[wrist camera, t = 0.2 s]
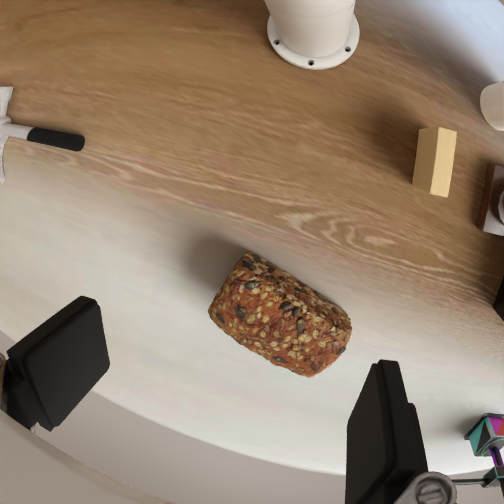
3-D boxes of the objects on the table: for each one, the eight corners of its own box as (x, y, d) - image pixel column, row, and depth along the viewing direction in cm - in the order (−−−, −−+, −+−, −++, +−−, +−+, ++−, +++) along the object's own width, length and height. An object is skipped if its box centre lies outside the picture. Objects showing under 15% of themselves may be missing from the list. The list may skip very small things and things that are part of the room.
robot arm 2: (515, 415, 47) (544, 489, 25) (493, 440, 50) (515, 512, 28) (446, 407, 50) (471, 503, 27) (423, 434, 53) (437, 526, 31)
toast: (418, 128, 37) (438, 126, 29) (434, 133, 36) (457, 131, 29) (411, 184, 39) (429, 193, 32) (427, 188, 39) (447, 197, 32)
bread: (351, 309, 47) (356, 346, 38) (311, 353, 51) (307, 393, 42) (250, 243, 47) (232, 268, 38) (217, 295, 51) (195, 327, 42)
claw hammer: (79, 89, 40) (-10, 86, 42) (61, 216, 48) (-20, 182, 50) (98, 91, 45) (7, 86, 47) (79, 208, 53) (-4, 178, 55)
